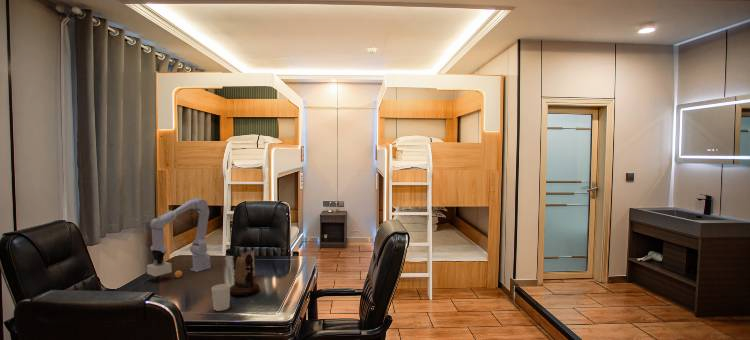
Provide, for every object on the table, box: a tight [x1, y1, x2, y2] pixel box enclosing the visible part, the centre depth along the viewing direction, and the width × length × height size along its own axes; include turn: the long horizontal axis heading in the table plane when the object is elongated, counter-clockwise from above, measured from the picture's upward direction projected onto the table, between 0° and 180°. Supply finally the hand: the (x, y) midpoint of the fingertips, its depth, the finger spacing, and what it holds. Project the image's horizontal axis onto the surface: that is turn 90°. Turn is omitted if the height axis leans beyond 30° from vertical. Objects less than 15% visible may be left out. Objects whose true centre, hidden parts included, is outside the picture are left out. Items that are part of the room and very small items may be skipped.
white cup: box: [211, 283, 231, 312], centre depth 172 cm, size 8×8×10 cm
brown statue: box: [230, 252, 260, 298], centre depth 191 cm, size 15×15×20 cm
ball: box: [173, 269, 183, 278], centre depth 216 cm, size 4×4×4 cm
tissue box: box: [146, 257, 173, 277], centre depth 212 cm, size 9×9×8 cm
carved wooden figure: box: [240, 250, 256, 277], centre depth 211 cm, size 11×7×15 cm, turn 149°
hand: (159, 263), depth 212 cm, fingers closed on tissue box
